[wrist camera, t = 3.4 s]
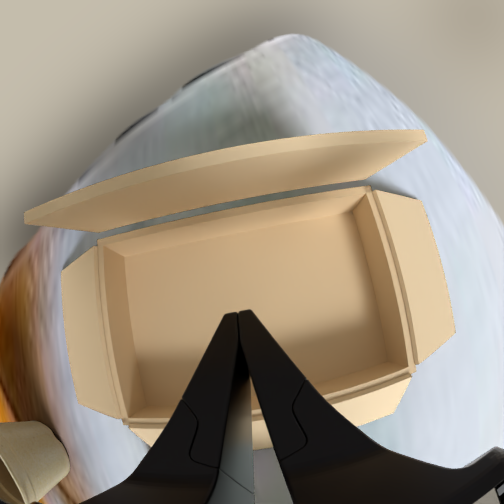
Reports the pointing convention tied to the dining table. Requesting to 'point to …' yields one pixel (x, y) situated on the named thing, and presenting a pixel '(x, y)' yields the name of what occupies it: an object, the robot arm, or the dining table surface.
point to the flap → (226, 178)
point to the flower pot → (29, 461)
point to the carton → (260, 303)
